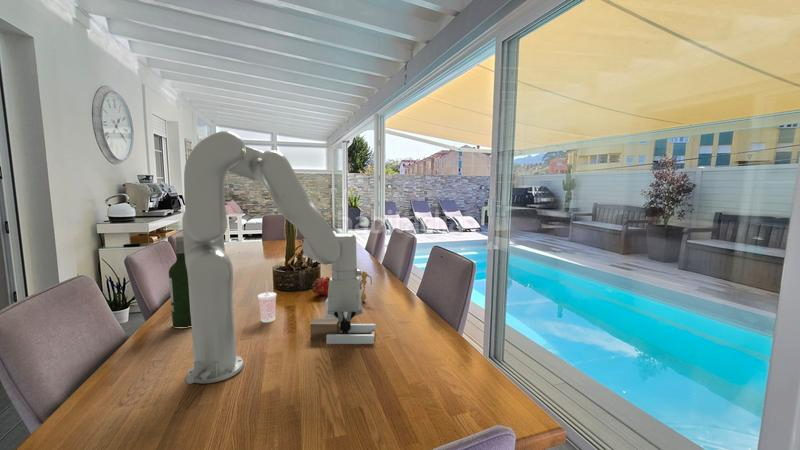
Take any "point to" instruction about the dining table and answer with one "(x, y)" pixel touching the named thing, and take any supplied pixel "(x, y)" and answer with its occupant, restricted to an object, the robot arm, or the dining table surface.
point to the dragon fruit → (321, 286)
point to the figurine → (364, 283)
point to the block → (324, 327)
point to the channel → (354, 335)
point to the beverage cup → (267, 305)
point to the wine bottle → (179, 288)
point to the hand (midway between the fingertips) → (345, 332)
